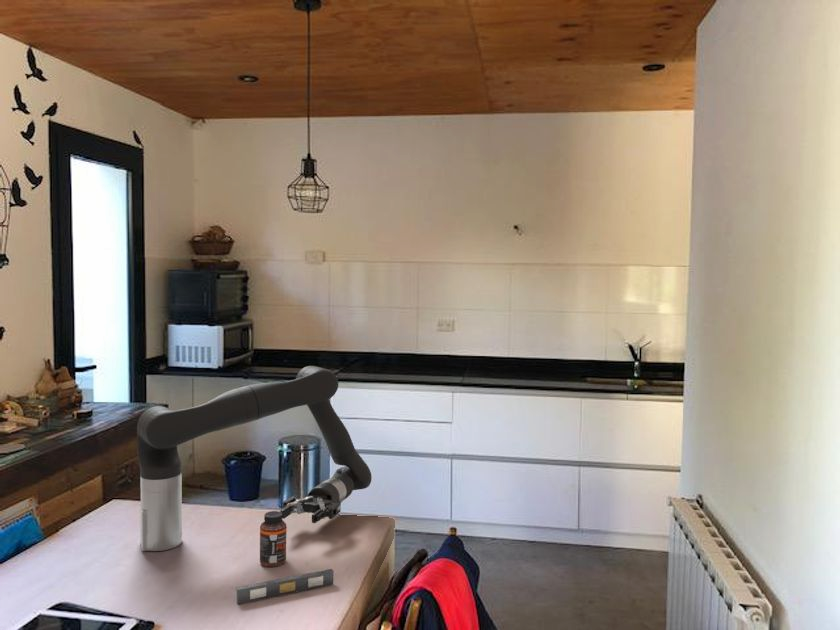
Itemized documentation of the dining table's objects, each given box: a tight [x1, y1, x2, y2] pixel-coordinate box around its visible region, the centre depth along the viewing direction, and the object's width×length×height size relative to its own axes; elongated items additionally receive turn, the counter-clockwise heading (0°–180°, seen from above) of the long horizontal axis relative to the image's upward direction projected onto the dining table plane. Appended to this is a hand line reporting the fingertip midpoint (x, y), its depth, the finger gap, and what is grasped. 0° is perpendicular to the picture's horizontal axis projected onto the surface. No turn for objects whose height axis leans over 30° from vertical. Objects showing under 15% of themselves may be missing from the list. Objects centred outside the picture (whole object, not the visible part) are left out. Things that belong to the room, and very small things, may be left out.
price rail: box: [236, 568, 335, 605], centre depth 135 cm, size 20×2×3 cm, turn 116°
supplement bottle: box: [259, 510, 287, 568], centre depth 149 cm, size 6×6×11 cm
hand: (297, 516), depth 160 cm, fingers open, 8 cm apart
